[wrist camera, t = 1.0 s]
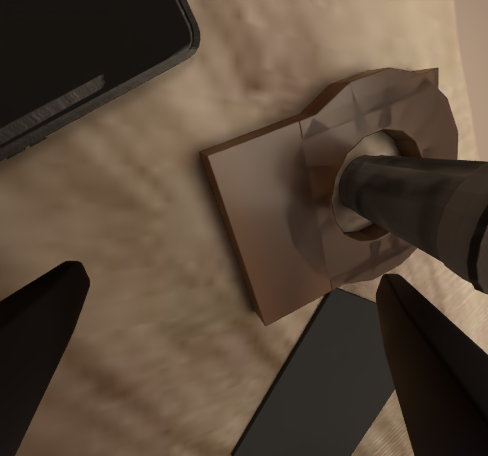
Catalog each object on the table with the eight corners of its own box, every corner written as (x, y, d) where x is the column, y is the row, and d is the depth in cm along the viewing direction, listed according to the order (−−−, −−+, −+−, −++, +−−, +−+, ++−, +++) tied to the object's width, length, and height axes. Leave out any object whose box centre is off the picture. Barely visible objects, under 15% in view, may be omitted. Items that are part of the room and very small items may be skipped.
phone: (-252, 12, 11) (120, -146, 13) (-223, 19, 12) (120, -128, 14) (-57, 194, 15) (209, 49, 17) (-46, 188, 16) (204, 52, 18)
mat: (347, 454, 40) (349, 458, 39) (231, 454, 31) (232, 458, 31) (433, 324, 37) (436, 327, 36) (331, 285, 28) (334, 287, 28)
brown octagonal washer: (258, 322, 27) (269, 337, 25) (192, 133, 19) (200, 136, 18) (436, 227, 31) (455, 234, 29) (436, 45, 24) (461, 40, 22)
